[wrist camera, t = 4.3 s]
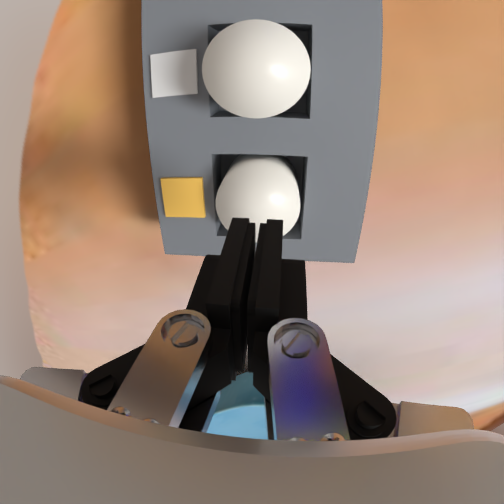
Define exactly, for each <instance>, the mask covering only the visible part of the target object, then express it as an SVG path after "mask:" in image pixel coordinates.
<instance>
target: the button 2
mask: <svg viewBox="0 0 504 504" xmlns="http://www.w3.org/2000/svg"><path fill="white" fill-rule="evenodd" d="M216 211H217V215H218V217H219V219H220V221H221V223H222V224H223V225H224V227H225V228H226V229H227V230H228V229H229V226H230V223H231V220H232V218H233V217H234V218H249V221H250V223H255V226H256V242H257V240H258V233H259V227H260V223H266V222H267V219H276V220H283V236H284V235H285V234H286V233H288V232H289V231H290V230H291V229H292V227H293V226H294V225H295V223H296V221H297V219H298V217H299V213H300V197H299V190H298V182H297V176H296V172H295V170H294V167H293V166H292V164H291V163H290V162H289V160H288V159H287V158H285V157H284V156H283V155H259V154H241V155H239V156H238V157H237V158H236V159H235V160H234V161H233V162H232V164H231V165H230V167H229V169H228V171H227V173H226V175H225V177H224V179H223V181H222V183H221V185H220V187H219V189H218V192H217V195H216Z"/></svg>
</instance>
